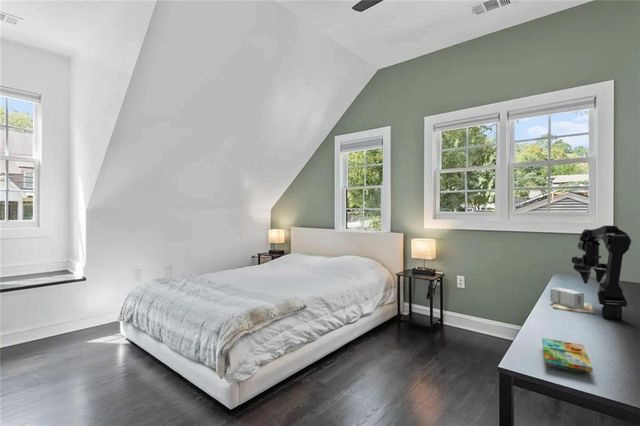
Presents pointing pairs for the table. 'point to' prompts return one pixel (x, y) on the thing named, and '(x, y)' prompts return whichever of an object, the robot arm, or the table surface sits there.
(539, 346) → the table surface
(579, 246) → the robot arm
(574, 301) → the supplement box
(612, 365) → the table surface
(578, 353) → the puzzle game
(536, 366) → the table surface
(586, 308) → the gold metal board
